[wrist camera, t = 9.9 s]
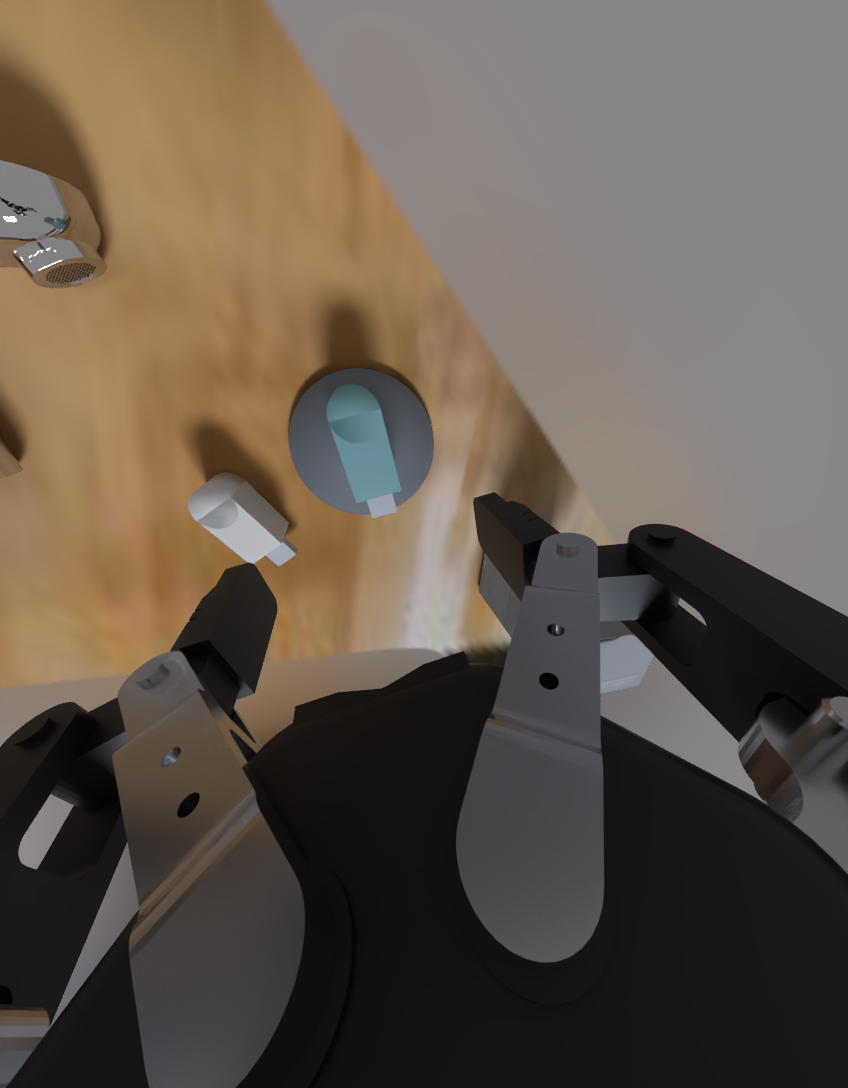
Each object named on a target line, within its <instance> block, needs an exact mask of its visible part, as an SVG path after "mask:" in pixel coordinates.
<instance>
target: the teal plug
mask: <svg viewBox="0 0 848 1088" xmlns="http://www.w3.org/2000/svg"><path fill="white" fill-rule="evenodd" d="M327 419H328V423H329V425H330V428H331V431H332V434H333V437H334V440H335V443H336V446H337V449H338V451H339V454H340V457H341V460H342V463H343V466H344V469H345V472H346V475H347V477H348V480H349V483H350V486H351V489H352V492H353V495H354V498H355V501H356V503H359V502H362V501H366V500H367V503H368V506H369V509H370V512H371V515H372V518H376V517H380V516H383V515H387V514H391V513H394V512H397V509H396V505H395V502H394V498H393V494H392V493H395V492H399V491H402V490H401V487H400V483H399V479H398V475H397V471H396V467H395V463H394V459H393V455H392V451H391V447H390V443H389V440H388V436H387V432H386V428H385V424H384V420H383V416H382V412H381V408H380V405H379V403H378V401H377V400H376V398H375V397H374V395H373V394H372V393H371V392H370V391H369V390H368V389H367V388H365V387H364V386H362V385H360V384H357V383H345V384H342V385H340V386H339V387H338V388H337V389H336V390H335V391H334V392H333V394H332V396H331V398H330V399H329V402H328V405H327Z"/></svg>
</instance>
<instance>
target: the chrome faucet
mask: <svg viewBox="0 0 848 1088" xmlns="http://www.w3.org/2000/svg"><path fill="white" fill-rule="evenodd" d="M100 241H101V230H100V228H99V225H98V223H97V221H96V218H95V216H94V213H93V211H92V209H91V206H90V204H89V201H88V199H87V198H86V196H85V195H84V194H83V193H82V192H81V191H80V190H79V189H77V188H76V187H74V186H72V185H71V184H69V183H67V182H65V181H63V180H61V179H59V178H56V177H54V176H52V175H49V174H47V173H44V172H41V171H38V170H35V169H32V168H29V167H26V166H22V165H19V164H15V163H11V162H7V161H3V160H0V267H12V268H22V269H23V270H24V271H25V272H26V274H27V275H28V276H29V277H30V278H31V279H32V281H33V282H34V283H35V284H37V285H39V286H41V287H45V288H69V287H74V286H79V285H81V284H84V283H86V282H88V281H91V280H93V279H95V278H98V277H100V276H101V275H103V274H104V273H105V271H106V269H107V265H106V264H105V262H104V261H103V260H102V258H101V257H100V255H99V254H98V253H97V250H98V248H99V245H100ZM22 470H23V468H22V467H21V465H20V464H19V462H18V461H17V459H16V458H15V457H14V455H13V454H12V452H11V451H10V450H9V448H8V447H7V445H6V444H5V443H4V441H3V440H2V438H1V437H0V479H2V478H5V477H8V476H11V475H14V474H16V473H18V472H20V471H22Z"/></svg>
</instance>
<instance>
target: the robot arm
mask: <svg viewBox="0 0 848 1088" xmlns="http://www.w3.org/2000/svg"><path fill="white" fill-rule="evenodd" d="M473 504H474V512H475V520H476V528H477V535H478V540H479V543H480V546H481V548H482V550H483V551H484V553H485V554H486V555H487V557H488V558H489V559H490V561H491V562H492V563H493V565H494V566H495V567H496V569H497V570H498V571H499V573H500V574H501V576H502V577H503V578H504V580H505V581H506V582H507V584H508V585H509V586H510V588H511V589H512V590H513V592H514V593H515V594H516V596H517V597H518V598H519V600H520V601H521V605H520V609H519V613H518V617H517V620H516V624H515V628H514V632H513V636H512V639H511V643H510V647H509V651H508V655H507V659H506V662H505V666H504V667H503V666H499V665H494V664H487V663H471V664H469V662H468V660H467V658H466V655H465V653H464V651H463V652H460V653H456V654H453V655H450V656H447V657H444V658H441V659H438V660H435V661H432V662H429V663H426V664H423V665H422V666H420V667H418V668H417V669H415V670H413V671H412V672H410V673H408V674H406V675H405V676H403V677H401V678H400V679H398V680H396V681H395V682H393V683H391V684H390V685H388V686H386V687H384V688H381V689H373V690H361V691H348V692H338V693H335V694H332V695H329V696H325V697H323V698H319V699H316V700H313V701H310V702H307V703H305V704H301V705H298V706H296V707H295V713H294V719H293V723H292V724H291V725H289V726H288V727H286V728H285V729H283V730H282V731H281V732H279V733H278V734H277V735H275V736H274V737H273V738H272V739H271V740H269V741H268V742H267V743H266V744H265V745H264V746H263V747H262V746H261V745H260V743H259V742H258V740H257V738H256V737H255V736H254V734H253V733H252V731H251V730H250V728H249V727H248V725H247V724H246V722H245V721H244V719H243V718H242V716H241V715H240V713H239V712H238V711H237V710H236V709H235V708H234V705H235V702H236V700H237V699H239V698H243V697H246V696H249V695H252V694H254V693H255V690H256V686H257V683H258V679H259V676H260V672H261V669H262V665H263V662H264V658H265V654H266V651H267V647H268V644H269V640H270V636H271V633H272V629H273V626H274V622H275V618H276V615H277V602H276V599H275V597H274V595H273V593H272V592H271V590H270V588H269V587H268V585H267V584H266V582H265V580H264V579H263V577H262V575H261V574H260V572H259V571H258V569H257V568H256V566H255V565H254V564H253V563H250V562H249V563H245V564H242V565H238V566H235V567H231V568H228V569H226V570H225V571H224V573H223V574H222V576H221V578H220V580H219V581H218V583H217V585H216V586H215V587H214V588H213V589H212V590H211V591H210V592H209V593H208V594H207V595H206V596H205V597H204V598H202V600H201V601H200V603H199V605H198V606H197V608H196V610H195V612H194V613H193V614H192V616H191V618H190V619H189V621H190V622H188V623H187V624H186V626H185V627H184V629H183V631H182V632H181V634H180V635H179V637H178V639H177V640H176V642H175V644H174V645H173V647H172V648H171V650H170V652H167V653H164V654H161V655H159V656H157V657H155V658H153V659H151V660H149V661H148V662H146V663H145V664H143V665H142V666H141V667H139V668H138V669H137V670H136V671H134V672H133V673H132V674H131V675H130V676H129V677H128V678H127V679H126V681H125V682H124V683H123V685H122V686H121V688H120V690H119V692H118V697H117V698H115V699H113V700H111V701H109V702H107V703H106V704H104V705H102V706H100V707H98V708H96V709H94V710H92V711H90V712H87V711H86V710H84V709H83V708H82V707H80V706H79V705H77V704H76V703H74V702H67V703H63V704H59V705H57V706H54V707H52V708H50V709H48V710H46V711H44V712H43V713H41V714H39V715H38V716H36V717H34V718H33V719H32V720H30V721H29V722H27V723H26V724H25V725H24V726H22V727H21V728H19V729H18V730H17V731H16V732H15V733H14V734H12V736H10V737H9V738H8V739H7V740H6V741H5V742H4V743H3V744H2V746H1V747H0V1088H848V617H847V616H845V615H843V614H842V613H840V612H838V611H836V610H834V609H832V608H830V607H828V606H826V605H825V604H823V603H821V602H819V601H817V600H815V599H813V598H812V597H810V596H808V595H806V594H804V593H802V592H800V591H798V590H797V589H795V588H793V587H791V586H789V585H787V584H785V583H783V582H782V581H780V580H778V579H776V578H774V577H772V576H770V575H768V574H766V573H765V572H763V571H761V570H759V569H757V568H755V567H753V566H752V565H750V564H748V563H746V562H744V561H742V560H740V559H738V558H737V557H735V556H733V555H731V554H729V553H727V552H725V551H723V550H721V549H720V548H718V547H716V546H714V545H712V544H710V543H708V542H706V541H705V540H703V539H701V538H699V537H697V536H695V535H693V534H691V533H690V532H688V531H686V530H684V529H681V528H678V527H675V526H670V525H663V524H647V525H641V526H638V527H636V528H634V529H632V530H631V531H630V533H629V537H628V543H627V544H616V545H605V546H597V544H596V543H595V542H594V541H593V540H592V539H591V538H589V537H587V536H584V535H581V534H576V533H559V532H558V531H557V530H556V529H554V528H553V527H552V526H550V525H549V524H548V523H547V522H545V521H544V520H543V519H542V518H539V516H538V515H536V514H535V513H534V512H533V513H532V511H531V510H530V509H529V508H527V507H526V506H525V505H523V504H520V503H517V502H513V501H510V502H506V501H504V500H503V499H502V498H501V497H500V496H499V495H497V494H496V493H495V492H493V493H490V494H486V495H483V496H479V497H476V498H474V501H473ZM680 598H681V599H683V600H684V601H685V602H687V603H688V604H689V605H691V606H692V607H693V608H695V609H696V610H697V611H698V612H699V613H700V614H701V615H702V617H703V618H704V620H705V622H706V625H707V626H705V625H704V624H703V623H702V622H700V621H699V620H698V619H696V618H695V617H694V616H693V615H691V614H690V613H689V612H687V611H686V610H685V609H684V608H682V607H681V606H680V605H679V604H678V602H679V599H680ZM600 621H621V622H622V623H623V624H624V625H625V626H626V627H627V628H628V629H629V630H630V631H631V632H632V633H633V634H634V635H635V636H636V637H637V638H638V639H639V640H640V641H641V642H642V643H643V644H644V645H645V646H646V647H647V648H648V649H649V651H650V652H651V653H652V654H653V655H654V656H655V657H656V658H657V659H658V660H659V661H660V662H661V663H662V664H663V665H664V666H665V667H666V668H667V669H668V670H669V671H670V672H671V673H672V674H673V675H674V676H675V677H676V678H677V679H678V680H679V681H680V682H681V683H682V684H683V685H684V687H686V689H687V690H688V691H689V692H690V693H691V694H692V695H693V696H694V697H695V698H696V699H697V700H698V701H699V702H700V703H701V704H702V705H703V706H704V707H705V708H706V709H707V710H708V711H709V712H710V713H711V714H712V715H713V716H714V717H715V718H716V719H717V720H718V721H719V722H720V723H721V725H723V727H725V729H726V730H727V731H728V732H729V733H731V735H732V736H733V737H734V738H735V739H736V740H737V741H738V742H739V746H738V753H739V758H740V761H741V764H742V766H743V768H744V769H745V771H746V773H747V774H748V776H749V777H750V779H751V780H752V781H753V783H754V787H755V790H756V792H757V793H758V795H759V796H760V798H761V799H762V800H763V801H764V802H765V803H766V804H765V803H763V802H762V801H760V800H758V799H757V798H755V797H753V796H751V795H750V794H748V793H746V792H745V791H743V790H741V789H739V788H737V787H735V786H733V785H731V784H729V783H727V782H726V781H724V780H722V779H720V778H718V777H716V776H714V775H712V774H711V773H709V772H707V771H705V770H702V769H701V768H699V767H697V766H695V765H694V764H691V763H690V762H688V761H686V760H684V759H682V758H680V757H678V756H676V755H674V754H673V753H671V752H669V751H667V750H665V749H663V748H661V747H659V746H658V745H656V744H654V743H652V742H650V741H648V740H646V739H644V738H642V737H641V736H638V735H637V734H635V733H633V732H631V731H629V730H627V729H625V728H624V727H622V726H620V725H618V724H616V723H614V722H612V721H610V720H608V719H607V718H605V717H603V716H601V715H600ZM50 794H52V795H54V796H56V797H58V798H60V799H62V800H64V801H66V802H68V803H70V804H72V805H74V806H73V808H72V810H71V812H70V813H69V815H68V817H67V819H66V820H65V822H64V824H63V825H62V827H61V829H60V831H59V832H58V834H57V836H56V838H55V839H54V841H53V843H52V845H51V846H50V848H49V850H48V852H47V853H46V855H45V857H44V858H43V860H42V862H41V864H40V865H39V867H38V869H37V870H36V869H33V868H30V867H27V866H25V865H23V864H22V863H21V862H20V860H19V856H18V850H19V845H20V842H21V839H22V838H23V836H24V834H25V832H26V831H27V829H28V828H29V826H30V824H31V823H32V822H33V820H34V818H35V817H36V815H37V814H38V812H39V811H40V809H41V807H42V806H43V804H44V803H45V801H46V800H47V798H48V797H49V795H50ZM767 804H768V805H767ZM127 842H128V848H129V854H130V859H131V865H132V870H133V875H134V881H135V887H136V892H137V898H138V904H139V910H138V911H137V913H136V914H135V915H134V916H133V918H132V919H131V920H130V922H129V923H128V925H127V926H126V927H125V928H124V930H123V931H122V933H121V934H120V935H119V937H118V938H117V939H116V941H115V942H114V943H113V945H112V946H111V948H110V949H109V950H108V952H107V953H106V954H105V955H104V957H103V958H102V959H101V961H100V962H99V963H98V965H97V966H96V967H95V969H94V970H93V972H92V973H91V974H90V975H89V977H88V978H87V980H86V981H85V982H84V984H83V985H82V986H81V988H80V989H79V990H78V992H77V993H76V994H75V996H74V997H73V998H72V1000H71V1001H70V1002H69V1004H68V1005H67V1006H66V1008H65V1009H64V1011H63V1012H62V1013H61V1014H60V1016H59V1017H58V1018H57V1020H56V1021H55V1022H54V1024H53V1025H52V1026H51V1028H50V1025H51V1023H52V1021H53V1018H54V1016H55V1013H56V1011H57V1009H58V1006H59V1004H60V1001H61V999H62V997H63V994H64V992H65V989H66V987H67V985H68V982H69V980H70V977H71V975H72V973H73V970H74V968H75V966H76V963H77V961H78V958H79V956H80V954H81V951H82V949H83V946H84V944H85V942H86V939H87V937H88V934H89V932H90V929H91V927H92V925H93V922H94V920H95V918H96V915H97V913H98V911H99V908H100V906H101V903H102V901H103V898H104V896H105V894H106V891H107V889H108V887H109V884H110V882H111V879H112V877H113V874H114V872H115V870H116V867H117V865H118V863H119V860H120V858H121V855H122V853H123V851H124V848H125V846H126V843H127ZM49 1028H50V1029H49Z"/></svg>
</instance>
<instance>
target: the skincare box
mask: <svg viewBox="0 0 848 1088" xmlns="http://www.w3.org/2000/svg"><path fill="white" fill-rule="evenodd" d="M479 592H480V594H481V595H482V597H483V598H484V600H485V601H486V603H487V604H488V605H489V607H490V608H491V610H492V611H493V612H494V614H495V615H496V617H497V618H498V619H499V621H500V622H501V624H502V625H503V626H504V628H505V629H506V631H507V632H508V633H509V635H510V636H511V638H512V636H513V632H514V628H515V624H516V620H517V617H518V613H519V609H520V605H521V601H520V600H519V598H518V597H517V596H516V594H515V593H514V592H513V590H512V589H511V588H510V586H509V585H508V584H507V582H506V581H505V580H504V578H503V577H502V576H501V574H500V573H499V571H498V570H497V569H496V567H495V566H494V565H493V563H492V562H491V561H490V559H489V558H488V557H487V555H486V554H484V561H483V567H482V574H481V581H480V585H479ZM653 656H654V655H653V654H652V653H651V652H650V651H649V649H648V648H647V647H646V646H645V645H644V644H643V643H642V642H641V641H640V640H639V639H638V638H637V637H636V636H635V635H634V634H633V633H632V632H631V631H630V630H629V629H628V628H627V627H626V626H625V625H624V624H623V623H622V622H621V621H600V694H601V693H605V692H610V691H614V690H619V689H624V688H629V687H634V686H638V685H639V683H640V681H641V679H642V677H643V676H644V674H645V672H646V670H647V668H648V666H649V664H650V662H651V659H652V658H653Z"/></svg>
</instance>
